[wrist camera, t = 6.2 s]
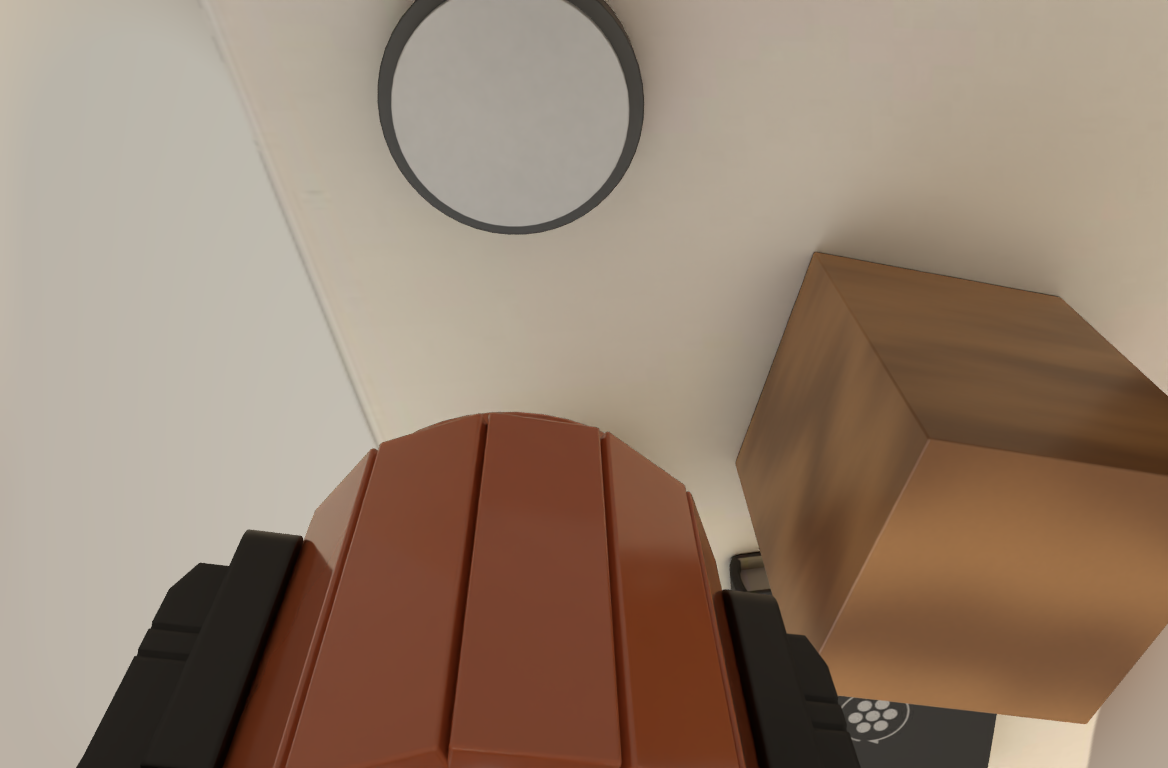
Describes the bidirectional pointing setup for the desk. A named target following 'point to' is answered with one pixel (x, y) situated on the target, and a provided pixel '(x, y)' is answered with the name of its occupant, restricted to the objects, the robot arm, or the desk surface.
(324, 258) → the desk surface
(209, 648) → the robot arm
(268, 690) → the bucket
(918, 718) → the book
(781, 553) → the block
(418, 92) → the scale
